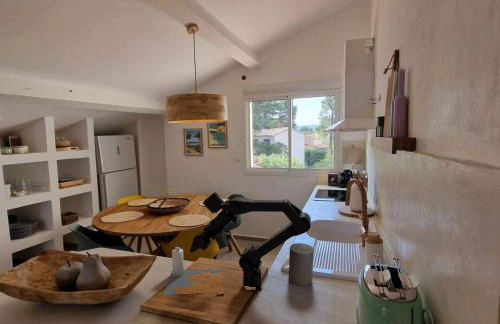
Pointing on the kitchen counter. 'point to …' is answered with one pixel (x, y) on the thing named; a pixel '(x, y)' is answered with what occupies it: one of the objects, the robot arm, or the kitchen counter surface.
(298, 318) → the kitchen counter surface
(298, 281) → the pillar candle
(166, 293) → the desk mat
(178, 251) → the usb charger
